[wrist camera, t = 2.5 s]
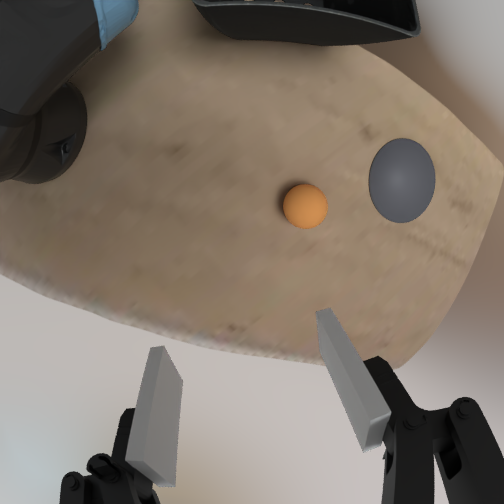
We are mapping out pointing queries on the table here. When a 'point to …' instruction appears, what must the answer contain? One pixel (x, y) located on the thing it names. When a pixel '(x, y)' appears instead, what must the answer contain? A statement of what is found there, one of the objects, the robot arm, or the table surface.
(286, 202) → the ball
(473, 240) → the table surface
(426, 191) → the disc
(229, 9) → the flower pot
